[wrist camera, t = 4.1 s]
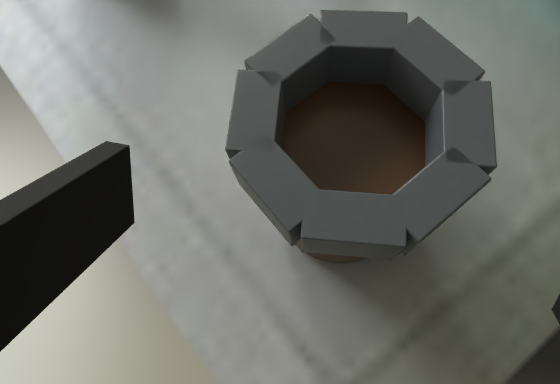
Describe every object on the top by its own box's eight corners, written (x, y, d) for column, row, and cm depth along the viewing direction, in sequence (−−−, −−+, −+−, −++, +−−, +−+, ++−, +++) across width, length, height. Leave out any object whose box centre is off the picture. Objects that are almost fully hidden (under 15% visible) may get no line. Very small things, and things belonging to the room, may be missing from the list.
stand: (430, 207, 25) (483, 152, 17) (334, 290, 23) (345, 270, 16) (344, 122, 27) (357, 39, 19) (253, 194, 26) (228, 136, 18)
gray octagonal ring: (519, 154, 17) (553, 125, 14) (344, 308, 15) (350, 304, 13) (359, 15, 20) (365, -28, 17) (197, 134, 18) (180, 105, 16)
